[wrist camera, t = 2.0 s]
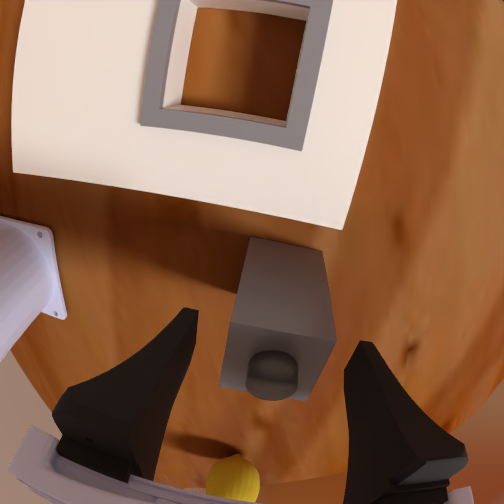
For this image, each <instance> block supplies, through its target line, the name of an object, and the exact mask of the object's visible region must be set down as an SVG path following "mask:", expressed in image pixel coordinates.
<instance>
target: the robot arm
mask: <svg viewBox="0 0 504 504" xmlns="http://www.w3.org/2000/svg"><path fill="white" fill-rule="evenodd" d="M41 233H42V234H41ZM40 312H43V313H46V314H48V315H51V316H54V317H56V318H59V319H62V320H64V319H65V318H66V317H67V312H66V307H65V303H64V298H63V293H62V288H61V283H60V278H59V272H58V266H57V260H56V254H55V247H54V240H53V233H52V231H51V230H50V229H49V228H48V227H44V226H40V225H36V224H32V223H27V222H23V221H19V220H15V219H11V218H7V217H3V216H0V362H1V361H2V359H3V358H4V357H5V355H6V354H7V353H8V351H9V350H10V349H11V348H12V346H13V345H14V344H15V343H16V341H17V340H18V339H19V338H20V336H21V335H22V334H23V333H24V331H25V330H26V329H27V328H28V326H29V325H30V324H31V323H32V322H33V320H34V319H35V318H36V317H37V316H38V314H39V313H40ZM198 312H199V310H194V309H190V308H186V307H185V308H183V309H182V310H181V311H180V312H179V313H178V315H177V316H176V317H175V318H174V319H173V320H172V321H171V322H170V323H169V324H168V325H167V326H166V327H165V328H164V329H163V330H162V331H161V332H160V333H159V334H158V335H157V336H156V337H155V338H154V339H153V340H152V341H150V342H149V343H148V344H147V345H146V346H144V347H143V348H142V349H141V350H139V351H138V352H137V353H136V354H134V355H133V356H131V357H130V358H128V359H127V360H125V361H124V362H122V363H121V364H119V365H117V366H116V367H114V368H112V369H111V370H109V371H107V372H105V373H103V374H101V375H99V376H96V377H94V378H92V379H90V380H88V381H85V382H82V383H80V384H77V385H74V386H71V387H68V389H67V390H66V391H65V393H64V394H63V395H62V396H61V398H60V399H59V401H58V403H57V405H56V406H55V408H54V410H53V412H52V417H53V419H54V421H55V423H56V425H57V426H58V428H59V430H60V431H61V433H62V438H61V439H60V441H59V440H58V439H56V438H55V437H54V436H52V435H50V434H48V433H46V432H44V431H42V430H41V429H39V428H37V427H35V426H33V425H31V426H30V427H29V429H28V431H27V432H26V434H25V436H24V438H23V440H22V442H21V444H20V445H19V447H18V449H17V451H16V453H15V455H14V457H13V459H12V461H11V463H10V465H9V467H8V468H7V470H8V472H9V473H10V474H11V475H13V476H14V477H15V478H16V479H17V480H18V481H20V482H21V483H22V484H23V485H25V486H26V487H27V488H28V489H29V490H31V491H32V492H34V493H36V494H37V495H39V496H41V497H43V498H44V499H46V500H48V501H50V502H52V503H54V504H263V503H254V502H247V501H240V500H233V499H227V498H221V497H216V496H211V495H206V494H201V493H196V492H192V491H187V490H183V489H179V488H175V487H171V486H168V485H164V484H160V483H157V482H153V479H154V474H155V470H156V465H157V461H158V457H159V453H160V449H161V445H162V441H163V437H164V434H165V430H166V426H167V423H168V419H169V416H170V412H171V409H172V406H173V403H174V401H175V398H176V396H177V394H178V391H179V389H180V386H181V384H182V382H183V379H184V377H185V374H186V372H187V369H188V367H189V365H190V362H191V358H192V355H193V351H194V348H195V344H196V334H197V323H198ZM344 394H345V403H346V411H347V420H348V429H349V458H348V472H347V482H346V489H345V496H344V501H343V504H474V501H473V496H472V491H471V487H470V486H468V487H463V488H459V489H454V490H451V491H449V492H447V489H446V487H447V486H449V484H450V483H449V478H450V477H452V476H453V475H454V474H456V473H457V472H458V471H460V470H461V469H462V468H463V467H465V465H466V464H467V462H468V456H467V452H466V448H465V445H464V444H463V443H462V442H460V441H459V440H457V439H456V438H454V437H453V436H451V435H450V434H448V433H447V432H446V431H445V430H443V429H442V428H441V427H439V426H438V425H437V424H436V423H435V422H434V421H433V420H431V419H430V418H429V417H428V416H427V415H426V414H425V413H424V412H423V411H422V410H421V409H420V408H419V407H418V405H417V404H416V403H415V402H414V401H413V400H412V399H411V397H410V396H409V395H408V394H407V392H406V391H405V390H404V388H403V387H402V386H401V384H400V383H399V382H398V380H397V379H396V377H395V376H394V375H393V373H392V372H391V370H390V369H389V367H388V365H387V364H386V362H385V361H384V359H383V358H382V356H381V355H380V353H379V352H378V350H377V348H376V347H375V345H374V344H373V343H372V342H367V341H360V342H359V344H358V345H357V347H356V349H355V351H354V353H353V355H352V357H351V359H350V360H349V362H348V364H347V366H346V368H345V369H344Z"/></svg>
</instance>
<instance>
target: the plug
mask: <svg viewBox="0 0 504 504" xmlns="http://www.w3.org/2000/svg"><path fill="white" fill-rule="evenodd" d="M336 341H337V339H336V332H335V325H334V318H333V312H332V305H331V299H330V293H329V287H328V281H327V275H326V269H325V263H324V258H323V252H322V251H319V250H315V249H310V248H305V247H300V246H295V245H291V244H286V243H281V242H276V241H271V240H266V239H261V238H256V237H250V241H249V245H248V249H247V254H246V258H245V262H244V266H243V270H242V275H241V279H240V283H239V287H238V292H237V296H236V300H235V304H234V308H233V313H232V317H231V321H230V326H229V332H228V338H227V343H226V349H225V355H224V360H223V366H222V371H221V377H220V383H219V386H220V387H225V388H230V389H235V390H241V391H246V392H249V393H251V394H252V395H253V396H255V397H257V398H260V399H263V400H270V401H276V400H283V399H286V398H289V399H297V400H305V401H307V399H308V397H309V395H310V393H311V391H312V389H313V388H314V386H315V384H316V382H317V380H318V378H319V376H320V374H321V372H322V370H323V368H324V366H325V364H326V362H327V360H328V358H329V356H330V354H331V352H332V350H333V348H334V346H335V343H336Z"/></svg>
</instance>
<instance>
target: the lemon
mask: <svg viewBox="0 0 504 504" xmlns="http://www.w3.org/2000/svg"><path fill="white" fill-rule="evenodd" d="M259 488H260V480H259V474H258V471H257V469H256V468H255V467H254V465H253V464H252V463H251V462H249V461H248V460H246V459H243V458H242V456H241V455H240V454H234V455H233V456H231V457H226V458H223V459H221V460H219V461H217V462H216V463H215V464H214V465H213V466H212V468H211V469H210V471H209V473H208V475H207V479H206V495H211V496H216V497H221V498H227V499H233V500H240V501H247V502H254V503H255V501H256V499H257V496H258V493H259Z"/></svg>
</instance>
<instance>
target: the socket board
mask: <svg viewBox="0 0 504 504" xmlns="http://www.w3.org/2000/svg"><path fill="white" fill-rule="evenodd" d="M396 4H397V0H25V4H24V9H23V14H22V19H21V24H20V30H19V36H18V43H17V50H16V58H15V67H14V78H13V93H12V161H13V172H14V173H22V174H30V175H38V176H46V177H53V178H61V179H68V180H75V181H82V182H89V183H95V184H102V185H108V186H115V187H121V188H127V189H134V190H140V191H146V192H152V193H158V194H163V195H169V196H175V197H181V198H186V199H192V200H197V201H203V202H208V203H213V204H219V205H224V206H229V207H234V208H240V209H245V210H250V211H255V212H260V213H265V214H269V215H274V216H279V217H284V218H289V219H294V220H298V221H303V222H308V223H312V224H317V225H321V226H326V227H330V228H335V229H339V230H342V229H343V226H344V223H345V219H346V216H347V213H348V210H349V206H350V203H351V200H352V196H353V193H354V189H355V186H356V183H357V179H358V175H359V172H360V168H361V165H362V161H363V157H364V154H365V150H366V146H367V142H368V138H369V135H370V131H371V127H372V123H373V119H374V114H375V110H376V106H377V102H378V97H379V93H380V89H381V84H382V79H383V75H384V70H385V65H386V60H387V55H388V50H389V45H390V39H391V34H392V28H393V23H394V17H395V10H396ZM197 8H215V9H228V10H239V11H248V12H256V13H263V14H270V15H276V16H282V17H288V18H293V19H298V20H303V21H306V25H305V30H304V35H303V40H302V45H301V50H300V55H299V60H298V65H297V69H296V74H295V79H294V84H293V89H292V94H291V99H290V104H289V109H288V114H287V119H286V121H283V120H278V119H272V118H267V117H262V116H256V115H251V114H245V113H239V112H233V111H226V110H219V109H212V108H204V107H196V106H188V105H181V99H182V92H183V85H184V79H185V72H186V66H187V60H188V54H189V49H190V43H191V38H192V32H193V27H194V22H195V17H196V12H197Z"/></svg>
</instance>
